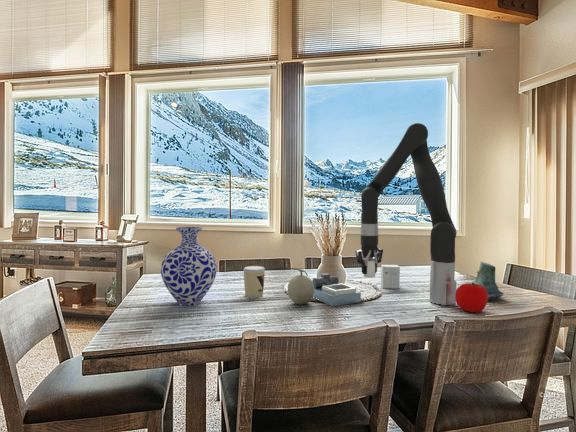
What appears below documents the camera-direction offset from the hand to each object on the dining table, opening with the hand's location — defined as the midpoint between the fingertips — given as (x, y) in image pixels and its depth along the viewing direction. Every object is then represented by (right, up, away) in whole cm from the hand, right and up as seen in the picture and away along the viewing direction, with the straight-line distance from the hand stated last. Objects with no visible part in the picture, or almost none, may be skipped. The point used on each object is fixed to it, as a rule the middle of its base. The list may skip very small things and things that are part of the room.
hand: (369, 273), depth 164 cm
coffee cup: (-50, -10, +1) cm, 51 cm away
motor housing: (-16, -10, -4) cm, 19 cm away
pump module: (0, -1, 0) cm, 1 cm away
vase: (-75, -10, -13) cm, 76 cm away
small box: (+14, -10, +19) cm, 25 cm away
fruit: (-30, -11, -11) cm, 34 cm away
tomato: (+35, -12, -19) cm, 41 cm away
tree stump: (+48, -11, +3) cm, 49 cm away
